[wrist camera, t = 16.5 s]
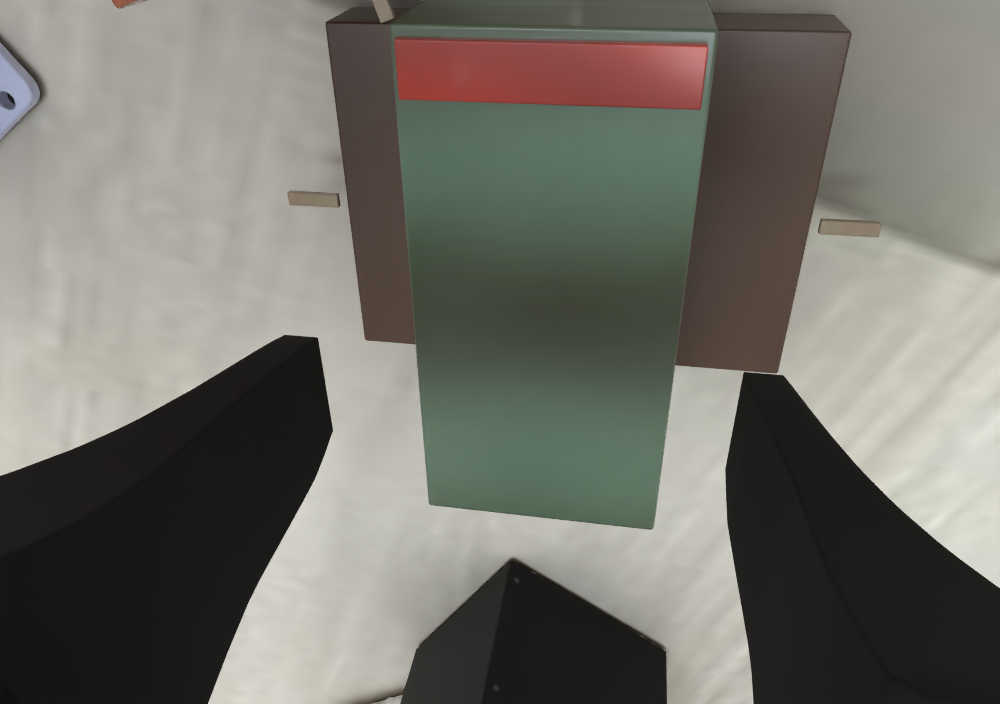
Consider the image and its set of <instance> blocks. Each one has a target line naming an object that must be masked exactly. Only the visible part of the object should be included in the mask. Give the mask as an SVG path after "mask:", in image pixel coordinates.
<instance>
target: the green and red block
mask: <svg viewBox="0 0 1000 704" xmlns="http://www.w3.org/2000/svg"><path fill="white" fill-rule="evenodd" d="M389 30H390V42H391V54H392V66H393V78H394V90H395V102H396V114H397V126H398V138H399V150H400V162H401V174H402V186H403V198H404V210H405V222H406V234H407V246H408V258H409V270H410V282H411V294H412V306H413V318H414V330H415V342H416V354H417V366H418V378H419V390H420V402H421V414H422V426H423V438H424V450H425V462H426V474H427V486H428V498H429V504H430V505H435V506H444V507H453V508H462V509H471V510H480V511H489V512H498V513H507V514H516V515H525V516H534V517H542V518H551V519H560V520H569V521H578V522H587V523H596V524H605V525H614V526H623V527H632V528H641V529H650V530H651V529H653V527H654V521H655V514H656V506H657V499H658V491H659V483H660V476H661V468H662V461H663V453H664V445H665V438H666V430H667V423H668V415H669V407H670V400H671V392H672V385H673V377H674V369H675V362H676V354H677V347H678V339H679V331H680V324H681V316H682V309H683V301H684V293H685V286H686V278H687V271H688V263H689V255H690V248H691V240H692V233H693V225H694V217H695V210H696V202H697V195H698V187H699V180H700V172H701V164H702V157H703V149H704V142H705V134H706V126H707V119H708V111H709V104H710V96H711V88H712V81H713V73H714V66H715V58H716V50H717V43H718V35H719V32H718V29H717V26H716V23H715V19H714V16H713V13H712V10H711V7H710V4H709V1H708V0H425V1H423V2H422V3H420V4H419V5H417V6H416V7H414V8H413V9H411V10H410V11H408V12H407V13H405V14H404V15H402V16H401V17H399V18H398V19H396V20H395V21H393V22H392V23H390V25H389Z"/></svg>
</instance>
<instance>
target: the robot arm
mask: <svg viewBox="0 0 1000 704" xmlns="http://www.w3.org/2000/svg"><path fill="white" fill-rule="evenodd" d="M7 93H9V94H10V95H11V96H12V97H13V99H14V100H15V105H14V104H13V103H11V101H10V100H9V98H8V95H7ZM39 98H40V90H39V87H38V85H37V83H36V82H35V80H34V79H33V78H32V77H31V76H30V74H29V73H28V72H27V71H26V70H25V69H24V68H23V67H22V66H21V65H20V64H19V62H18V61H17V60H16V59H15V58H14V57H13V56H12V55H11V54H10V53H9V52H8V51H7V49H6V48H5V47H4V46H3V45H2V44H1V43H0V140H1V139H2V138H3V137H4V136H5V135H6V134H7V133H8V132H9V131H10V130H11V129H12V128H13V127H14V126H15V125H16V124H17V123H18V122H19V121H20V120H21V119H22V118H23V117H24V116H25V114H26V113H27V112H28V111H29V110H30V109H31V108H32V107H33V106H34V105H35V104H36V103H37V102H38V100H39ZM332 432H333V428H332V422H331V416H330V410H329V403H328V397H327V391H326V385H325V379H324V373H323V367H322V361H321V355H320V348H319V342H318V338H315V337H303V336H290V335H284V336H282V337H280V338H278V339H276V340H274V341H272V342H270V343H269V344H267V345H265V346H263V347H262V348H260V349H258V350H257V351H255V352H253V353H252V354H250V355H248V356H247V357H245V358H243V359H242V360H240V361H239V362H237V363H235V364H234V365H232V366H230V367H229V368H227V369H225V370H224V371H222V372H220V373H219V374H217V375H216V376H214V377H212V378H211V379H209V380H207V381H206V382H204V383H202V384H201V385H199V386H197V387H196V388H194V389H192V390H191V391H189V392H187V393H185V394H183V395H182V396H180V397H178V398H176V399H174V400H172V401H171V402H169V403H167V404H165V405H163V406H162V407H160V408H158V409H156V410H154V411H153V412H151V413H149V414H147V415H145V416H143V417H142V418H140V419H138V420H136V421H134V422H132V423H130V424H128V425H126V426H124V427H121V428H119V429H117V430H115V431H113V432H111V433H109V434H107V435H104V436H102V437H100V438H98V439H95V440H93V441H91V442H89V443H86V444H84V445H82V446H79V447H77V448H75V449H72V450H70V451H67V452H64V453H62V454H59V455H56V456H54V457H51V458H48V459H46V460H43V461H40V462H38V463H35V464H32V465H30V466H27V467H24V468H22V469H19V470H16V471H14V472H11V473H8V474H5V475H2V476H0V704H208V702H209V699H210V696H211V694H212V691H213V689H214V686H215V684H216V681H217V678H218V676H219V673H220V671H221V668H222V665H223V663H224V660H225V658H226V655H227V652H228V650H229V648H230V645H231V643H232V640H233V638H234V636H235V633H236V631H237V628H238V626H239V624H240V621H241V619H242V616H243V614H244V612H245V609H246V607H247V604H248V602H249V600H250V598H251V596H252V594H253V592H254V590H255V588H256V586H257V584H258V582H259V580H260V578H261V576H262V575H263V573H264V571H265V569H266V567H267V565H268V564H269V562H270V560H271V558H272V556H273V555H274V553H275V551H276V549H277V547H278V546H279V544H280V542H281V540H282V538H283V537H284V535H285V533H286V531H287V529H288V528H289V526H290V524H291V522H292V520H293V519H294V517H295V515H296V513H297V511H298V509H299V508H300V506H301V504H302V502H303V500H304V498H305V497H306V495H307V493H308V491H309V489H310V487H311V485H312V483H313V481H314V480H315V477H316V475H317V472H318V470H319V467H320V465H321V462H322V460H323V457H324V454H325V451H326V449H327V446H328V443H329V440H330V437H331V434H332ZM725 470H726V501H727V522H728V529H729V535H730V541H731V547H732V553H733V559H734V565H735V571H736V576H737V582H738V588H739V594H740V599H741V605H742V611H743V617H744V622H745V628H746V634H747V640H748V646H749V654H750V662H751V670H752V685H753V700H754V704H1000V588H999V587H997V586H996V585H994V584H993V583H992V582H990V581H989V580H988V579H986V578H985V577H983V576H982V575H981V574H979V573H978V572H977V571H975V570H974V569H973V568H971V567H970V566H968V565H967V564H966V563H964V562H963V561H962V560H960V559H959V558H958V557H956V556H955V555H954V554H953V553H951V552H950V551H949V550H947V549H946V548H945V547H944V546H942V545H941V544H940V543H939V542H937V541H936V540H935V539H934V538H933V537H932V536H930V535H929V534H928V533H927V532H926V531H925V530H924V529H922V528H921V527H920V526H919V525H918V524H917V523H915V522H914V521H913V520H912V519H911V518H910V517H908V516H907V515H906V514H905V513H904V512H903V511H902V510H901V509H900V508H899V507H897V506H896V505H895V504H894V503H893V502H892V501H891V500H890V499H889V498H888V497H887V496H886V495H885V494H884V493H883V492H882V491H881V490H880V489H879V488H878V487H877V486H876V485H875V484H874V483H873V482H872V481H871V480H870V479H869V478H868V477H867V476H866V475H865V474H864V473H863V472H862V471H861V470H860V468H859V467H858V466H857V465H856V464H855V463H854V462H853V461H852V459H851V458H850V457H849V456H848V455H847V454H846V453H845V451H844V450H843V449H842V448H841V447H840V446H839V444H838V443H837V442H836V441H835V440H834V439H833V437H832V436H831V435H830V434H829V433H828V431H827V430H826V429H825V428H824V426H823V425H822V424H821V423H820V421H819V420H818V419H817V418H816V416H815V415H814V414H813V413H812V411H811V410H810V409H809V407H808V406H807V405H806V404H805V402H804V401H803V400H802V398H801V397H800V396H799V394H798V393H797V392H796V391H795V389H794V388H793V387H792V385H791V384H790V383H789V382H788V380H787V379H786V378H785V377H784V376H783V375H772V374H760V373H748V372H744V374H743V379H742V385H741V390H740V395H739V400H738V406H737V411H736V416H735V422H734V427H733V432H732V437H731V443H730V448H729V453H728V459H727V464H726V469H725Z"/></svg>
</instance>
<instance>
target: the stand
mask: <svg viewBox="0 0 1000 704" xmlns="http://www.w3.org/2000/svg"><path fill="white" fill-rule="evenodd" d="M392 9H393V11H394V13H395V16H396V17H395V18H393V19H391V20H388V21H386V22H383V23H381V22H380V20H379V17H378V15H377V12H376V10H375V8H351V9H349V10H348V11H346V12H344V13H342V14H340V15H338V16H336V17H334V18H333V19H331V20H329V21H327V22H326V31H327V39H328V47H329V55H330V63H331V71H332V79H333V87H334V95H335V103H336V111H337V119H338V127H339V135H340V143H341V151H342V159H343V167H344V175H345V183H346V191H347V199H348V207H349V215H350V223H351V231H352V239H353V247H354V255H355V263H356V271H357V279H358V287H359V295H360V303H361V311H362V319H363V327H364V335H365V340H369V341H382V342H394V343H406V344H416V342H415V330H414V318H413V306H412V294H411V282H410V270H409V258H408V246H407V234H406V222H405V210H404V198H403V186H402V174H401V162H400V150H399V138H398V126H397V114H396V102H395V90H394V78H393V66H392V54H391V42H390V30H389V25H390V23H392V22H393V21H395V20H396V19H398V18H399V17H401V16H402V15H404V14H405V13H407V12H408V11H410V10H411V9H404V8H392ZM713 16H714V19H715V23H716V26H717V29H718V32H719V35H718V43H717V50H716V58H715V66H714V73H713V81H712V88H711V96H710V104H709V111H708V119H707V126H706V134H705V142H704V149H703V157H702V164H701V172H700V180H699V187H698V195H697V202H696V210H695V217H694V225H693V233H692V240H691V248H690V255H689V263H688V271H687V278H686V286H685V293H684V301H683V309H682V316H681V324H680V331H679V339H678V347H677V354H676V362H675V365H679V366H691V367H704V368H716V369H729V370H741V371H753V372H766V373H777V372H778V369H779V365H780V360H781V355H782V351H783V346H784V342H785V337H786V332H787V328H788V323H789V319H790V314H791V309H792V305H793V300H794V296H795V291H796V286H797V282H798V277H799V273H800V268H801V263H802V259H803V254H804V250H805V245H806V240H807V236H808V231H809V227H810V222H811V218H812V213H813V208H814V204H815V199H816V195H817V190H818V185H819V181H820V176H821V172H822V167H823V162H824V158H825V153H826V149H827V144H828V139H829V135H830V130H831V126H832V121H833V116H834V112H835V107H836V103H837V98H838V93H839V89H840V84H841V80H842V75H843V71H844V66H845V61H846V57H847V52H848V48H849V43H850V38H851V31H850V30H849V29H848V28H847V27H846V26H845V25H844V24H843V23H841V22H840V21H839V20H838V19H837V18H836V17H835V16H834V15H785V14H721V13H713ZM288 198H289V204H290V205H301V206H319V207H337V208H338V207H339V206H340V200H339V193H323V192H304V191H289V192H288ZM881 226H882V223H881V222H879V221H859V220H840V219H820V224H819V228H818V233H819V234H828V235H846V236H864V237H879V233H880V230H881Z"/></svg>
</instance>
